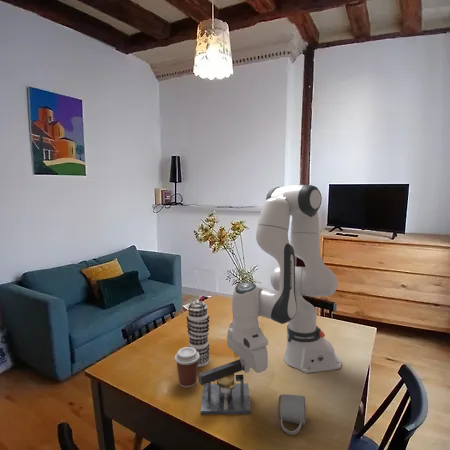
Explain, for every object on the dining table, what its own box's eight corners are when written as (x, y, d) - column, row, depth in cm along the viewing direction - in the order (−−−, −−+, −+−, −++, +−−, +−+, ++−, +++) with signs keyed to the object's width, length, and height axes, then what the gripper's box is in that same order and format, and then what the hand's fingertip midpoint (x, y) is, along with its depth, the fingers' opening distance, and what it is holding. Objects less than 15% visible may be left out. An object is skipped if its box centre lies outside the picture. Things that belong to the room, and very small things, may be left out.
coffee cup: (176, 375, 125) (175, 345, 124) (200, 374, 126) (199, 344, 124) (174, 390, 116) (173, 359, 115) (200, 389, 117) (199, 357, 115)
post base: (248, 386, 118) (248, 365, 117) (250, 414, 104) (250, 390, 103) (203, 386, 118) (203, 365, 117) (200, 414, 104) (199, 390, 103)
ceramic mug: (279, 408, 106) (279, 387, 105) (305, 412, 104) (306, 391, 103) (276, 433, 96) (276, 410, 95) (304, 438, 94) (305, 415, 93)
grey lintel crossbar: (241, 367, 119) (241, 351, 118) (256, 380, 111) (256, 364, 110) (194, 384, 109) (193, 367, 109) (206, 399, 102) (206, 382, 101)
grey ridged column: (207, 368, 130) (205, 308, 126) (184, 366, 131) (182, 306, 128) (212, 356, 138) (211, 299, 135) (191, 354, 140) (190, 298, 137)
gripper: (222, 322, 117) (223, 358, 118) (254, 347, 99) (254, 390, 101) (237, 318, 119) (238, 354, 121) (271, 342, 102) (271, 383, 103)
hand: (245, 370), depth 111 cm, fingers closed
